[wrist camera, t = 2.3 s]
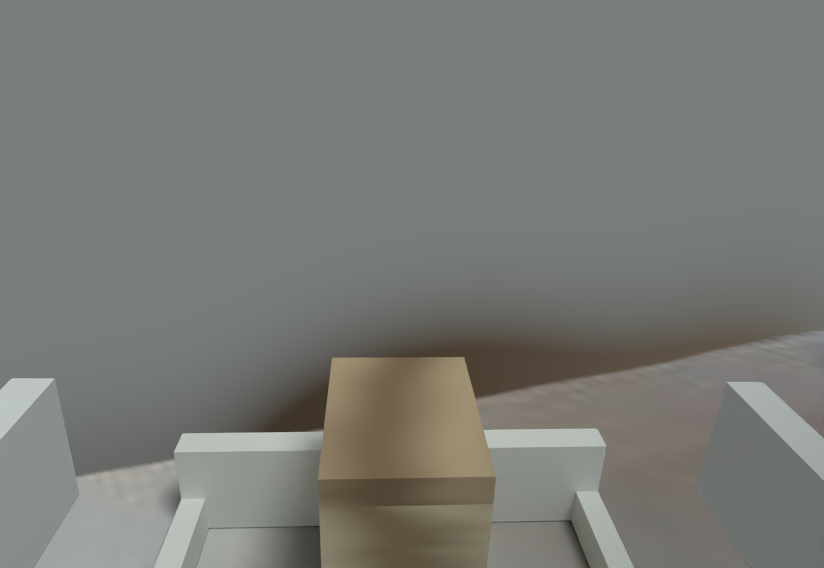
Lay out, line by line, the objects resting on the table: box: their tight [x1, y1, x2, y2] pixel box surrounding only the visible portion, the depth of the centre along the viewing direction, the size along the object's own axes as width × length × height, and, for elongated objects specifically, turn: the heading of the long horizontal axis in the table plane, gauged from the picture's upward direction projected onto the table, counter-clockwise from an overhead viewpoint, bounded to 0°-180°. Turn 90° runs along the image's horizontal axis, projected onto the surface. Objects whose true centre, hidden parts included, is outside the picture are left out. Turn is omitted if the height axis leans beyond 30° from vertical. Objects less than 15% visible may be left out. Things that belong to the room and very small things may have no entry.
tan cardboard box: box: [318, 357, 496, 568], centre depth 26 cm, size 6×8×11 cm
